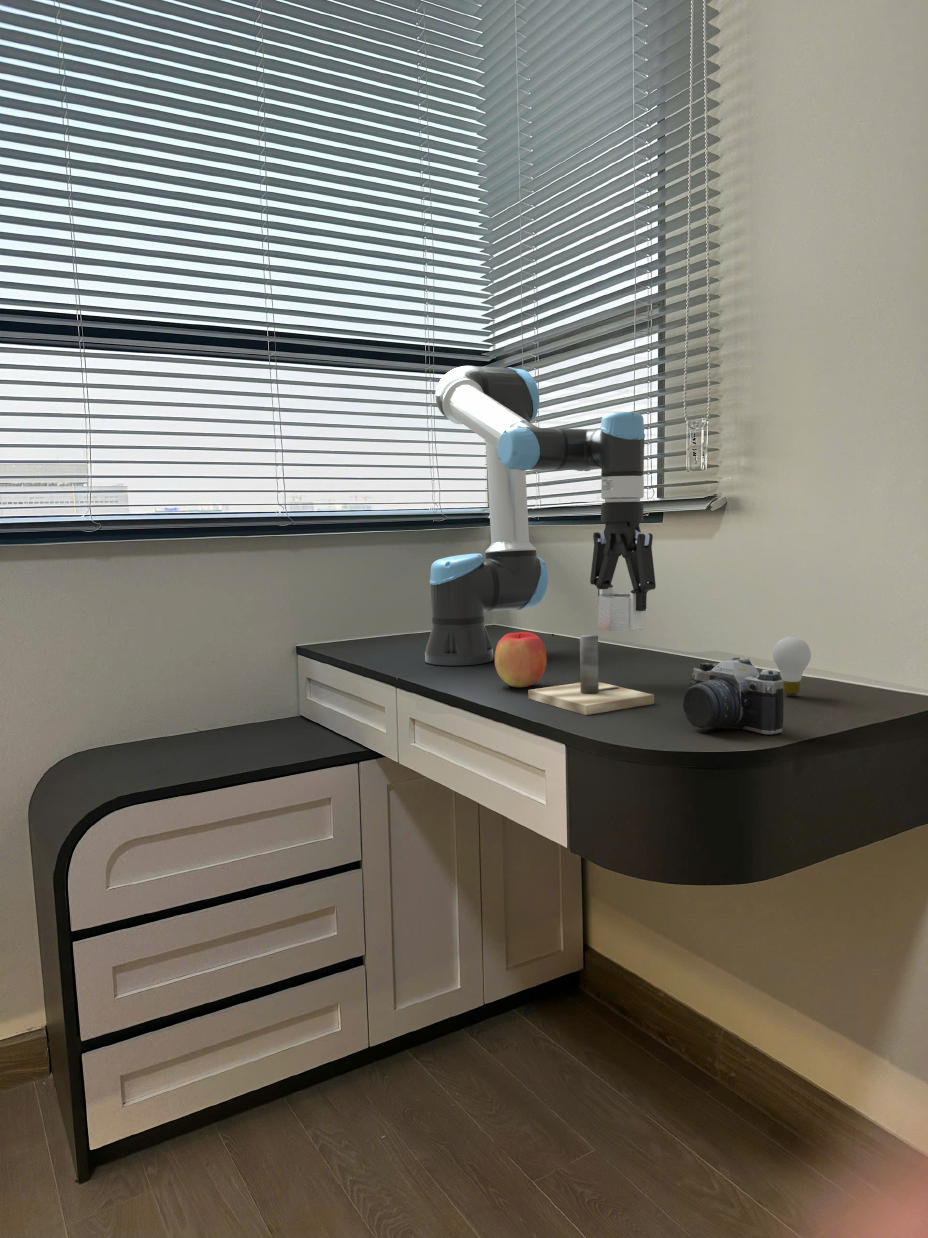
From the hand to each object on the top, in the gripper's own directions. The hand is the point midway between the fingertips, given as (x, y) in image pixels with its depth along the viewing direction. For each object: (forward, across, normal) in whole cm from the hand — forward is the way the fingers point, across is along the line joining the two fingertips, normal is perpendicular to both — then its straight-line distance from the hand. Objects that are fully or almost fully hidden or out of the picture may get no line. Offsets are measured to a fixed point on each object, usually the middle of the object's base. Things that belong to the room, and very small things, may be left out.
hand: (621, 626), depth 158 cm
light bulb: (+10, +26, +15) cm, 32 cm away
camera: (+10, +35, -10) cm, 38 cm away
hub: (0, 0, 0) cm, 0 cm away
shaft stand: (+11, +9, -14) cm, 20 cm away
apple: (+11, -9, -16) cm, 22 cm away
